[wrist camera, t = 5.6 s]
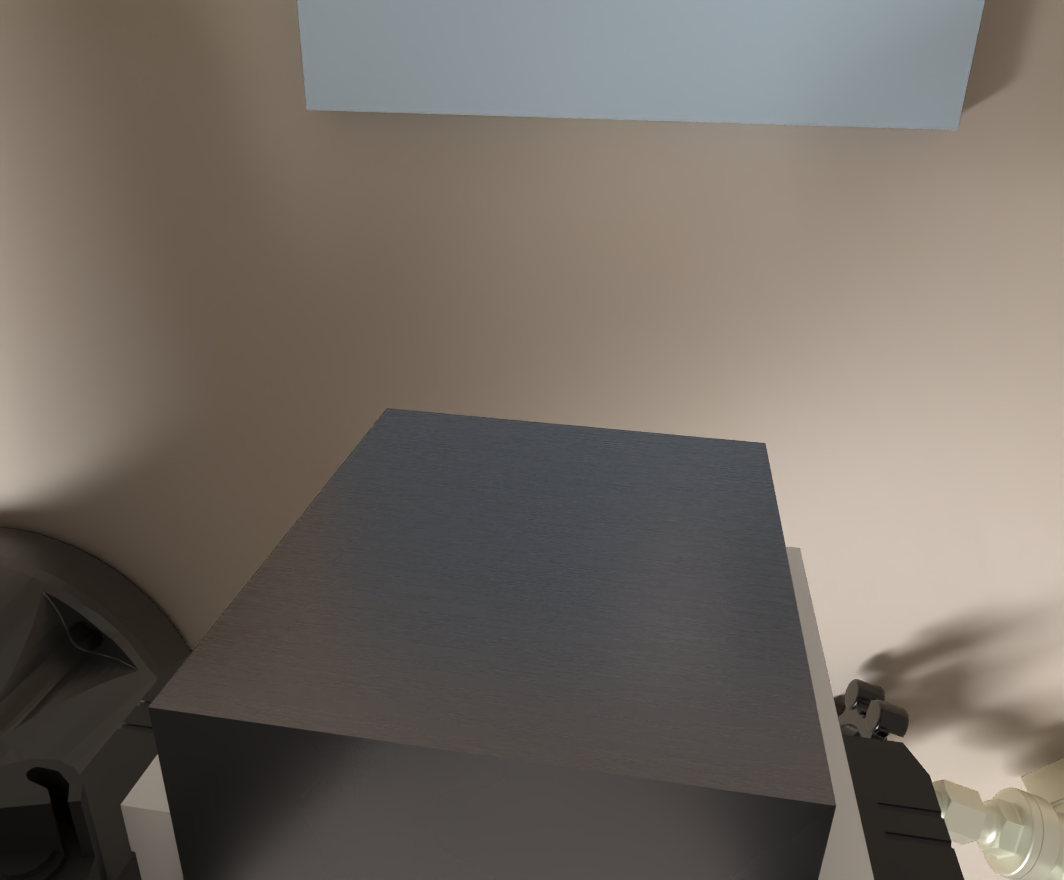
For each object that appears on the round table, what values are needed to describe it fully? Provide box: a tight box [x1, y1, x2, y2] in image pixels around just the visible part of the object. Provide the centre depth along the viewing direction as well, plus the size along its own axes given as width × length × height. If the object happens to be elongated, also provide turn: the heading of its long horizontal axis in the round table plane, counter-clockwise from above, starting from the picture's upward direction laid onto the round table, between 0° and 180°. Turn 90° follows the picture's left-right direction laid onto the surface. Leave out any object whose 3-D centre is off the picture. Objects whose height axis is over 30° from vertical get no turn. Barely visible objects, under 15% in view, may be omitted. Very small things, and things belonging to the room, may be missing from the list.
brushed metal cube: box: [148, 409, 836, 880], centre depth 12 cm, size 6×6×7 cm
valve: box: [835, 679, 1064, 880], centre depth 30 cm, size 7×7×12 cm
